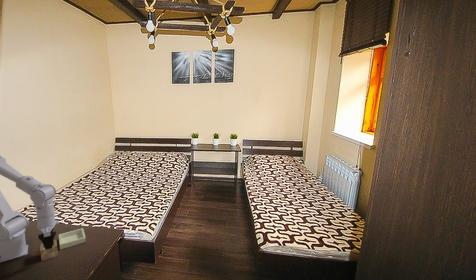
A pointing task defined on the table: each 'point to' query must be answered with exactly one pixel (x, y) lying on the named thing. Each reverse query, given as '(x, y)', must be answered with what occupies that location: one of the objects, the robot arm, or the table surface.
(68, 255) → the table surface
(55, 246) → the tan open box
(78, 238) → the tray
